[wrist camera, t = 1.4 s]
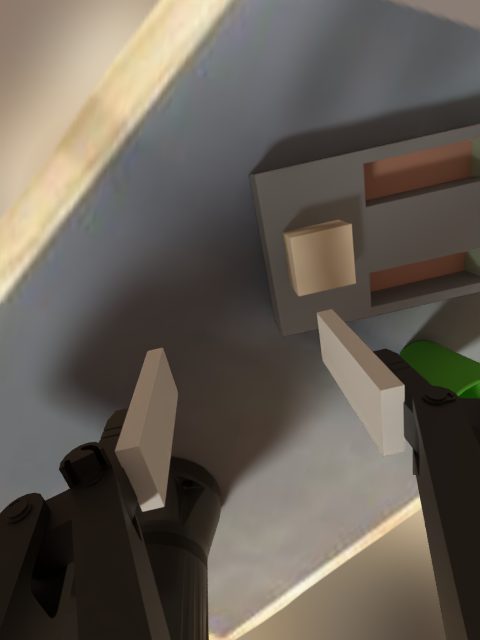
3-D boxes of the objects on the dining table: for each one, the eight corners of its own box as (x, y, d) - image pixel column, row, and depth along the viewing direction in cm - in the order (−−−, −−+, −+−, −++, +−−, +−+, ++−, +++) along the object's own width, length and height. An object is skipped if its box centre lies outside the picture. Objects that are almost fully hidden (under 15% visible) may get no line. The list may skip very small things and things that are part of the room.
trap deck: (275, 321, 38) (286, 343, 32) (248, 175, 32) (257, 174, 27) (523, 264, 38) (573, 277, 33) (544, 108, 32) (608, 95, 27)
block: (290, 286, 32) (298, 296, 29) (282, 232, 30) (290, 238, 27) (342, 274, 32) (355, 283, 29) (338, 219, 30) (351, 224, 27)
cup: (403, 314, 39) (474, 363, 29) (468, 335, 41) (555, 388, 31) (367, 380, 42) (419, 446, 32) (429, 397, 44) (496, 463, 34)
